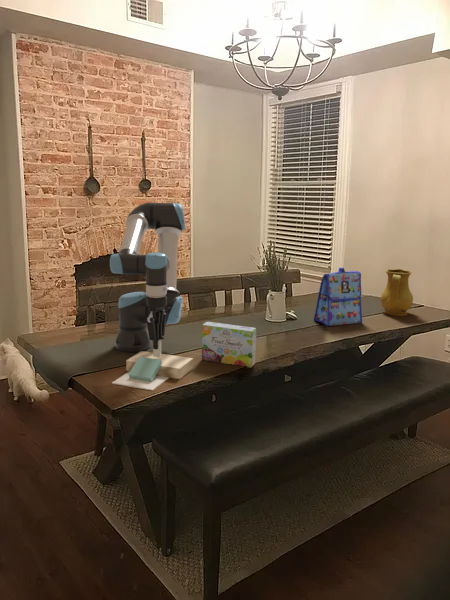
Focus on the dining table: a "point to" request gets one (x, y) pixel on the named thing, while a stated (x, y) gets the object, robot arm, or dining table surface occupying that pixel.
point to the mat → (140, 382)
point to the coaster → (145, 369)
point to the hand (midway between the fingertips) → (157, 356)
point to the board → (165, 364)
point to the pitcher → (397, 293)
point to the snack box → (229, 344)
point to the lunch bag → (339, 299)
